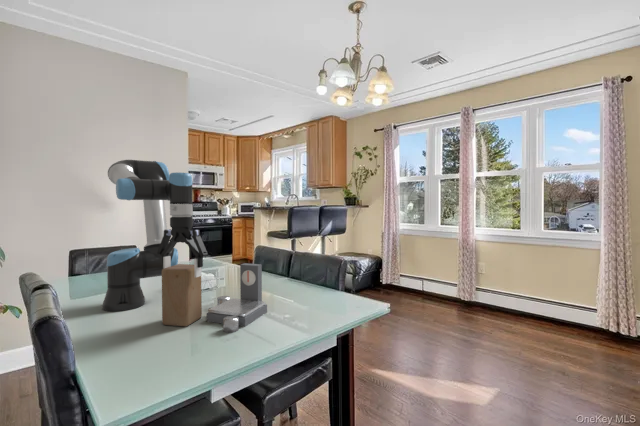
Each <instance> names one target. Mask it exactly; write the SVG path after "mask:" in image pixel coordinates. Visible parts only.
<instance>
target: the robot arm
mask: <svg viewBox="0 0 640 426" xmlns="http://www.w3.org/2000/svg"><path fill="white" fill-rule="evenodd" d="M107 177H108V179H109V181H110V182H111V183H112V184H114V185H115V194H116V198H117V199H118V200H120V201H121V200H123V201H125V200H126V201H142V202H143V210H144V211H143V212H144V223H145V236H146V243H145V245H144V246H143V250H140V248H139V247H130V248H124V249H123V248H122V249H118V250H115V251H112V252H110V253H108V255H107V258H106V268H107V270H106V271H107V274H106V275H107V276H106V278H107V281H106V282H107V283H106V284H107V290H106V293H105V296H104V300H103V302H102V310H103V311H105V312H106V311H107V312H123V311H129V310H133V309H137V308H140V307H141V306H143V305H145V303H146V297H145V295H144V292H143V289H142V286H141V279H147V278H154V277H156V278H157V277H162V269H164V268H167V267H171V266H174V265H177V264H179V251H178V249H177V248H176V247H175V246H176V245H177V243H183V244H184V243H185V244H186V245H187V246H188V248H189V249H190V250H191V252H192V254H193V255H194V257H195V258H194V260H193V261H194V262H193V263H194V264H193V265H194V271H195V277H200V276H201V277H202V268H203V266H204V257H207V256H208V255H209V254H208V251H207V249H206V246H205V244H204V241H203V239H202V237H201V232H200V231H201V230H200V229H192V228H193V226H194V221H193V220H194V218H193V216H192V215H194V211H193V210H194V209H193V176H192V174H191V173H188V172H171V173H170V171H169V168H168V165H166V163H164V162H162V161H156V160H153V161H152V160H151V161H150V160H140V159H139V160H135V159H122V160H119V161H116V162H113V163H112V164H111V165H110V166H109V167H108V169H107ZM165 201H169V215H170V216H171V217H169V226H170V228H171V229H169V228H168V225H167V224H168V223H167V216H166V207H165V206H166V205H165Z"/></svg>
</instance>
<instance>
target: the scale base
mask: <svg viewBox="0 0 640 426" xmlns="http://www.w3.org/2000/svg"><path fill="white" fill-rule="evenodd" d="M239 269H240V270H239V271H240V273H239V275H240V277H239V278H240V279H239V280H240V288H239V289H240V292H239V293H240V294H239V295H240V299H245V300H254V301H262V300H263V290H262V289H263V286H262V285H263V279H262V275H263V273H262V272H263V271H262V269H263V267H262V264H258V263H247V262H246V263H244V262H243V263H242V264H240V266H239ZM266 312H267V313H268V304H266V303H265V305H263V306H262V307H260V308H258V309H257V310H255V311H254V312H252V313H250V314H249V315H247V316H245V317H242V316H237V317H239V327H244V328H245V327H247V326H248V325H250V324H252V323H253V322H255V321H256V320H257V319H259V318H261V317H262V316H263V314H264V315H266ZM227 316H234V315H226V314H218V313H211V312H209V311H208V312H206V322H209V323H215V324H216V323H217V324H223V318H225V317H227Z"/></svg>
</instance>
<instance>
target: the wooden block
mask: <svg viewBox="0 0 640 426" xmlns="http://www.w3.org/2000/svg"><path fill="white" fill-rule="evenodd" d="M202 302H203V301H202V276H200V277H195V271H194V264H185V263H184V264H183V263H178V264H177V265H174V266H171V267H167V268H164V269H162V276H161V315H162V317H161V320H162V321H161V322H162V325H164V326H173V327H174V326H175V327H176V326H177V327H188V326H190V325H192V324H193V323H194V322H196V321H198V320H200V319H201V318H202V315H203V313H202V312H203V310H202V309H203V308H202V307H203V306H202Z"/></svg>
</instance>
